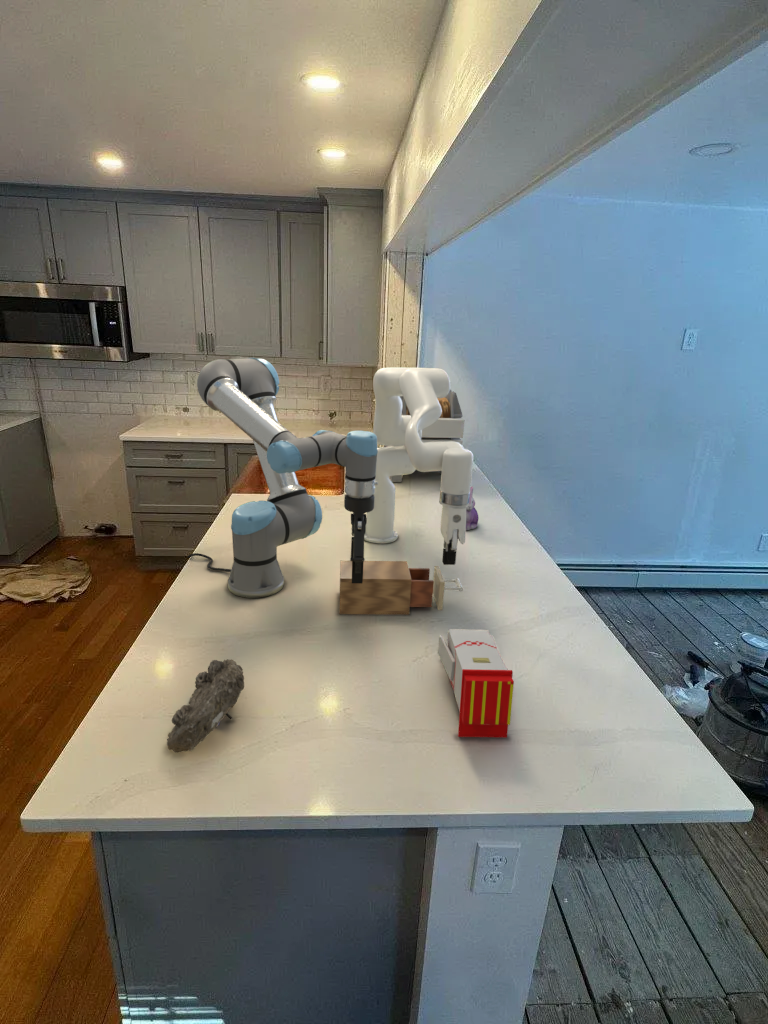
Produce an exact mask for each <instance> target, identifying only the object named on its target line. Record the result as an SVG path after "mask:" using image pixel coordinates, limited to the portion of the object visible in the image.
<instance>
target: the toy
mask: <svg viewBox="0 0 768 1024" xmlns="http://www.w3.org/2000/svg"><path fill="white" fill-rule="evenodd" d="M446 640H447V643H446V641H445V639H444V636H443V635H442V634H439V637H438V646H437V656H438V657H439V659H440V661H441V663H442V666H443V668H444V670H445V672H446V674H447V677H448V679H449V681H450V684H451V687H452V690H453V693H454V697H455V701H456V705H457V708H458V711H459V714H458V715H459V716H458V730H457V731H458V732H457V737H458V738H508V731H509V726H510V725H511V717H512V707H513V697H514V696H513V695H514V684H515V680H514V679H513V673H514V671H513V670H512V669H508V667H507V665H506V662H505V661H504V659H503V658H502V655H501V653H500V651H499V649H498V647H497V643H496V639H495V637H494V635H493V634H491V632H490V631H489V629H467V628H466V629H465V628H463V629H461V628H460V629H459V628H448V630H447V639H446Z"/></svg>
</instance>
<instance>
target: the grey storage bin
mask: <svg viewBox="0 0 768 1024" xmlns="http://www.w3.org/2000/svg"><path fill="white" fill-rule="evenodd" d="M400 398H401V400H402V405H403V407H402V415H410V413H409V410H408V407H407V405H406V402H405V399H404V397H403V396H400ZM437 399H438V401H439V404H440V406H441V409H442V413H441V416H440V418H439V419H438V420H437V421H436V422H435V423H433V424H432V425H430V426H428V427H426V428H424V429H422V436H421V441H422V442H423V443H425V442H449V441H453V442H458V443H460V444H461V445H462V446H463V442H464V441H463V440H462V439H463V438H464V431H465V430H464V429H465V419H464V418H463V411H462V408H461V405H460V402H459V398H458V395H457V392H455V391H453V390H452V389H450V391H449V393H448V395H447V396H446V397H444V398H437ZM399 446H403V445H383V447H399ZM439 473H440V474H442V471H439ZM389 479H390V480H391V482H392V483H402V482H403V475H394V476H389Z"/></svg>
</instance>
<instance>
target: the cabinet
mask: <svg viewBox="0 0 768 1024" xmlns="http://www.w3.org/2000/svg"><path fill="white" fill-rule="evenodd" d="M339 563H340V564H339V608H338V609H339V611H338V612H339V615H403V616H404V615H405V616H406V615H408V616H409V615H410V609H411V607H410V594H411V580H412V579H411V575H410V571H409V568H410V567H409V563H408V560H364V562H363V582H362V584H361V583H352V561H350V560H344V559H343V560H340V562H339Z"/></svg>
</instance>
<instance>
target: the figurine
mask: <svg viewBox="0 0 768 1024" xmlns="http://www.w3.org/2000/svg"><path fill="white" fill-rule="evenodd" d="M473 494H474V486H471V488H470V498H469V505H468V506H466V531H469V530H474V529H476V528H477V527H478V524H479V520H480V519H479V513H478V510H477V509H476V507H475V506H476V501H475V498H474V496H473Z"/></svg>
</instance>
